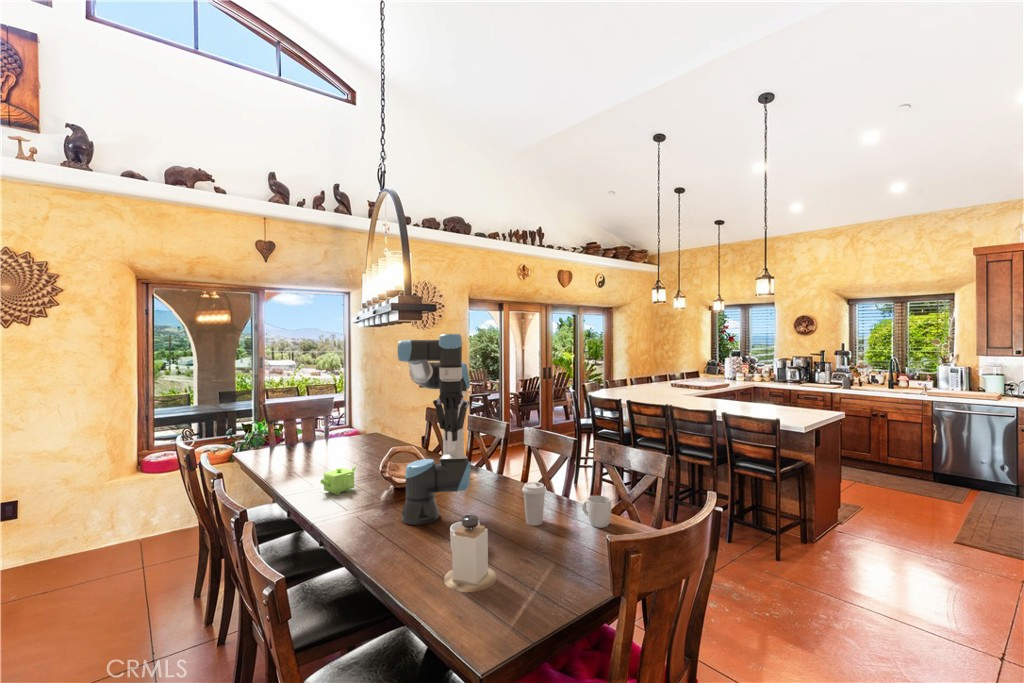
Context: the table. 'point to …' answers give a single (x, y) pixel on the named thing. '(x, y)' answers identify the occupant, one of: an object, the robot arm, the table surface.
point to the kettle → (338, 480)
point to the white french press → (470, 555)
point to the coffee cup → (534, 502)
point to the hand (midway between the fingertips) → (451, 450)
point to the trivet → (461, 587)
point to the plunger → (469, 521)
